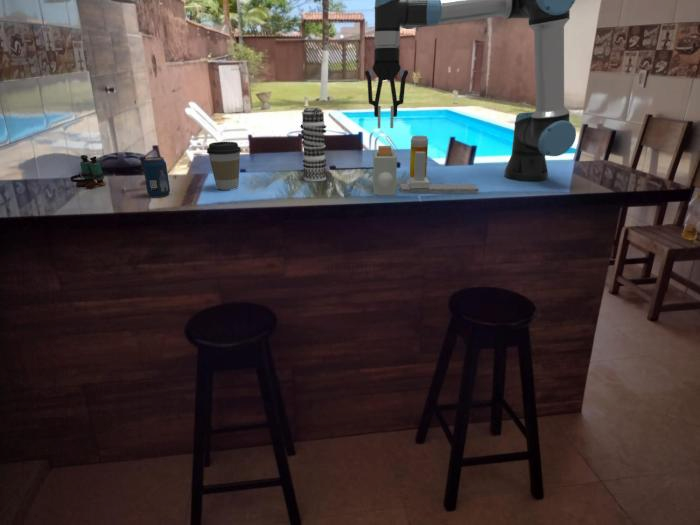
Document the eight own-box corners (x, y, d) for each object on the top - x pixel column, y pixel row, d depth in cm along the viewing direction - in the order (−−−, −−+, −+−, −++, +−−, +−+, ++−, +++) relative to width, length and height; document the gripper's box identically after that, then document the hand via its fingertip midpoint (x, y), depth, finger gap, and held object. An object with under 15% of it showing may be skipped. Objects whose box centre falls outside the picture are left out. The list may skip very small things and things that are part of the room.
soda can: (153, 192, 166) (147, 156, 161) (173, 192, 165) (168, 156, 161) (144, 198, 159) (138, 160, 155) (165, 198, 159) (160, 160, 154)
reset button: (390, 161, 164) (390, 145, 162) (391, 163, 160) (391, 147, 159) (378, 161, 164) (378, 145, 162) (378, 163, 161) (379, 147, 159)
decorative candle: (318, 182, 178) (316, 109, 169) (297, 179, 183) (294, 108, 173) (332, 177, 185) (331, 107, 176) (312, 175, 190) (309, 106, 180)
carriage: (426, 183, 168) (428, 150, 164) (429, 188, 162) (431, 154, 158) (408, 183, 168) (410, 150, 164) (410, 188, 162) (412, 154, 158)
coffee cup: (229, 182, 179) (224, 140, 173) (251, 186, 173) (247, 142, 167) (203, 189, 170) (198, 144, 164) (226, 193, 164) (221, 147, 158)
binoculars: (60, 161, 167) (85, 153, 175) (69, 190, 172) (93, 182, 180) (78, 162, 164) (103, 154, 172) (87, 193, 169) (111, 184, 177)
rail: (473, 188, 169) (473, 183, 168) (478, 193, 162) (478, 188, 162) (399, 188, 169) (399, 184, 169) (401, 193, 163) (401, 189, 162)
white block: (393, 186, 171) (394, 151, 167) (395, 195, 160) (397, 158, 155) (373, 186, 172) (373, 151, 167) (374, 195, 160) (374, 158, 156)
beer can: (425, 180, 181) (427, 137, 175) (408, 179, 182) (410, 137, 176) (426, 176, 186) (428, 135, 181) (410, 175, 188) (411, 135, 182)
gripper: (413, 47, 153) (410, 126, 162) (359, 47, 153) (359, 126, 162) (415, 46, 146) (412, 129, 155) (359, 47, 146) (359, 129, 155)
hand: (385, 127), depth 158 cm, fingers open, 3 cm apart
